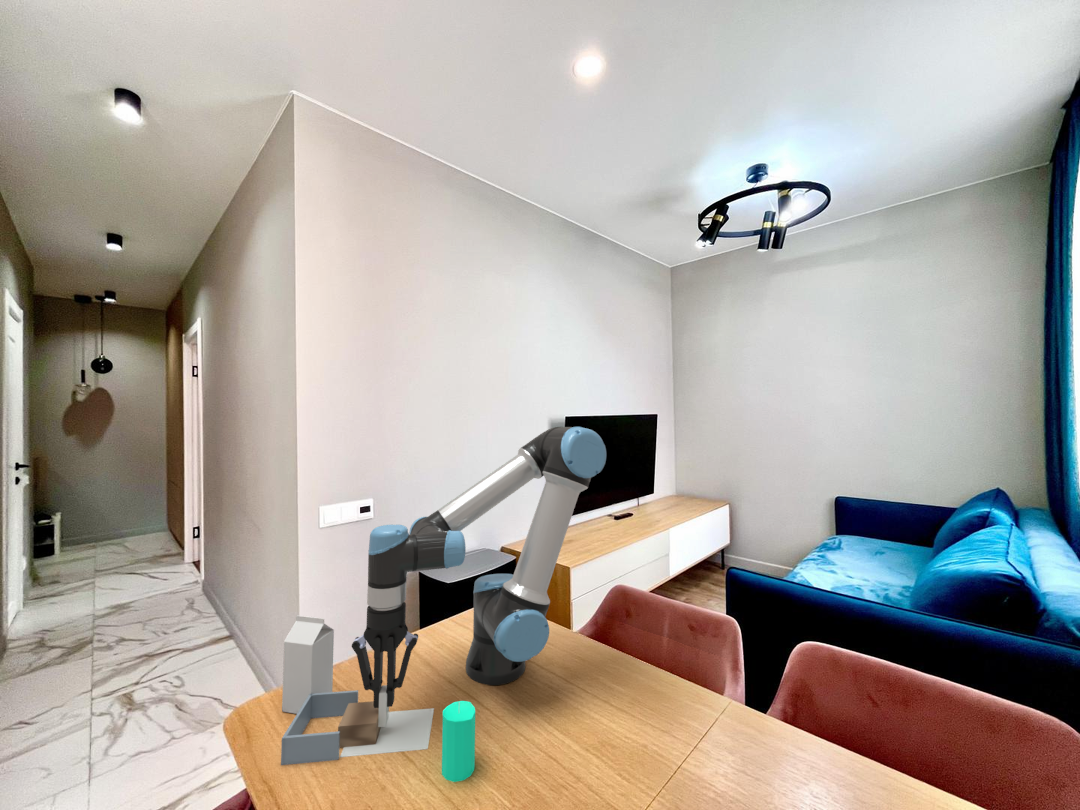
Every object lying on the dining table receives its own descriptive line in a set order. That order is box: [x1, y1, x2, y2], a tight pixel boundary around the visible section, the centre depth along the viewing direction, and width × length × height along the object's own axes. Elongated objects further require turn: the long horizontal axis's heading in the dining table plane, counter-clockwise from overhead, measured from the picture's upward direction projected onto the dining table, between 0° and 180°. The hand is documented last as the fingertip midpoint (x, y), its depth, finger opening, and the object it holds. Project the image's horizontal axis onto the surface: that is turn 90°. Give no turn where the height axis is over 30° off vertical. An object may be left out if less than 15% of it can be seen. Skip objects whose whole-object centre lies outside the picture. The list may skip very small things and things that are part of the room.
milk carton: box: [281, 615, 335, 715], centre depth 97 cm, size 7×7×19 cm
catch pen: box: [280, 690, 359, 766], centre depth 87 cm, size 10×13×5 cm
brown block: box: [337, 700, 381, 749], centre depth 88 cm, size 7×7×4 cm
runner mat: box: [339, 707, 435, 758], centre depth 88 cm, size 16×12×1 cm
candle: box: [441, 700, 476, 783], centre depth 79 cm, size 6×6×12 cm
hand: (383, 722), depth 88 cm, fingers closed
